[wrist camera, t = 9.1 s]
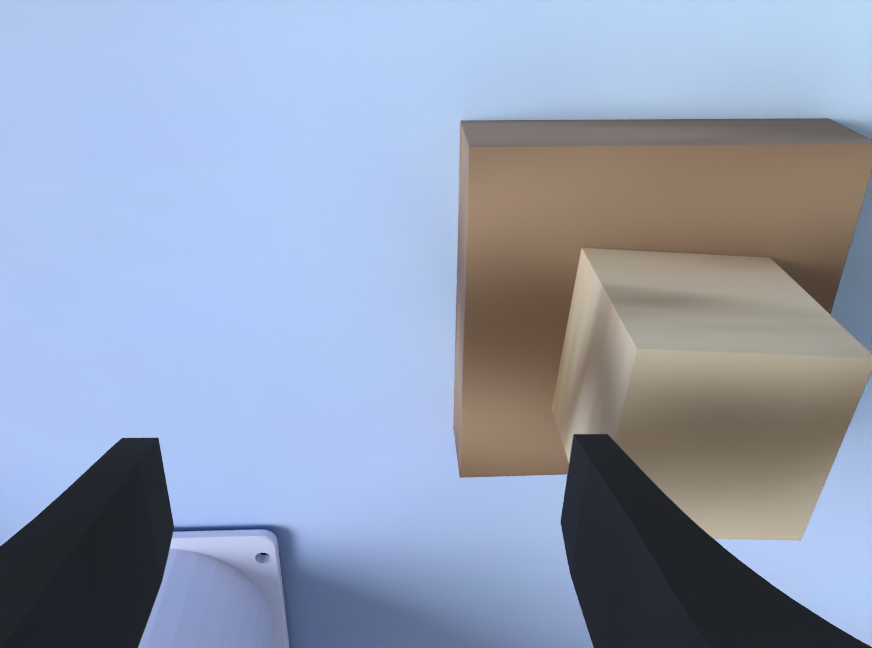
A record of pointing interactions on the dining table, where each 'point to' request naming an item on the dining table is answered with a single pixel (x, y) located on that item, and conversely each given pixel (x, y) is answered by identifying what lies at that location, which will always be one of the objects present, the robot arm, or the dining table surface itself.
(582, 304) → the maple block
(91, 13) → the dining table surface
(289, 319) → the dining table surface
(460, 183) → the walnut block
